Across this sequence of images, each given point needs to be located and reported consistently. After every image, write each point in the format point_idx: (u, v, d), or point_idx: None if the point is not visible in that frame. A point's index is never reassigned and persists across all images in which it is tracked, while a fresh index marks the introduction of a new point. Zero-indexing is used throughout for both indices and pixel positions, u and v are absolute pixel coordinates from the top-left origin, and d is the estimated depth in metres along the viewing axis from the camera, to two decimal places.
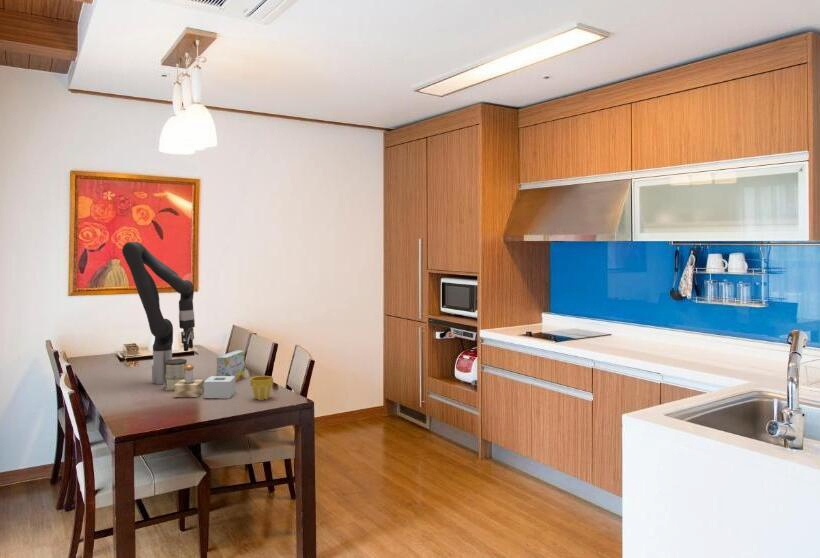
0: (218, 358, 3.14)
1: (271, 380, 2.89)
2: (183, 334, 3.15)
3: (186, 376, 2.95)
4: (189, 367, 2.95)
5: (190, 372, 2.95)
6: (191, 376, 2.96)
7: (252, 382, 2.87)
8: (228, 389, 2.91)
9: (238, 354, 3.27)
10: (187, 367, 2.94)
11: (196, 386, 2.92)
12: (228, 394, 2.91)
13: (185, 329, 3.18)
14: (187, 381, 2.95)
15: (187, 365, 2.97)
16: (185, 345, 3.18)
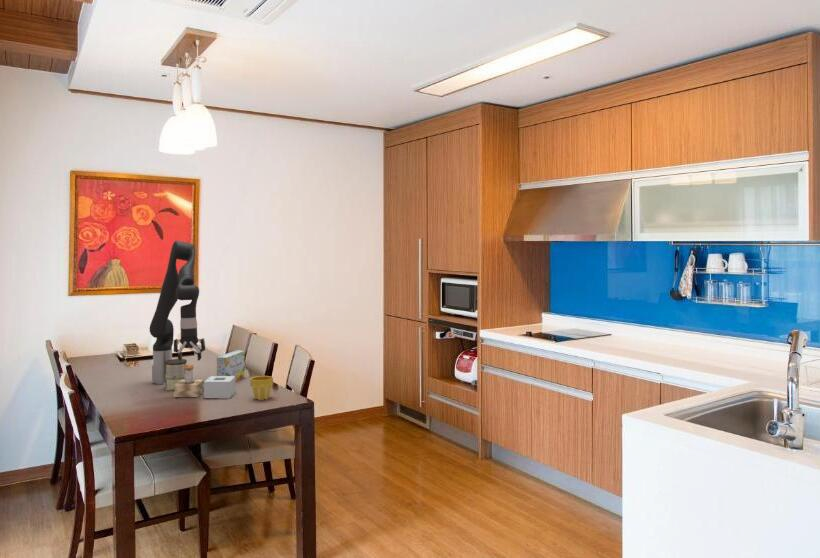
0: (218, 358, 3.14)
1: (271, 380, 2.89)
2: (203, 341, 2.97)
3: (186, 376, 2.95)
4: (189, 367, 2.95)
5: (190, 372, 2.95)
6: (191, 376, 2.96)
7: (252, 382, 2.87)
8: (228, 389, 2.91)
9: (238, 354, 3.27)
10: (187, 367, 2.94)
11: (196, 386, 2.92)
12: (228, 394, 2.91)
13: None
14: (187, 381, 2.95)
15: (187, 365, 2.97)
16: None
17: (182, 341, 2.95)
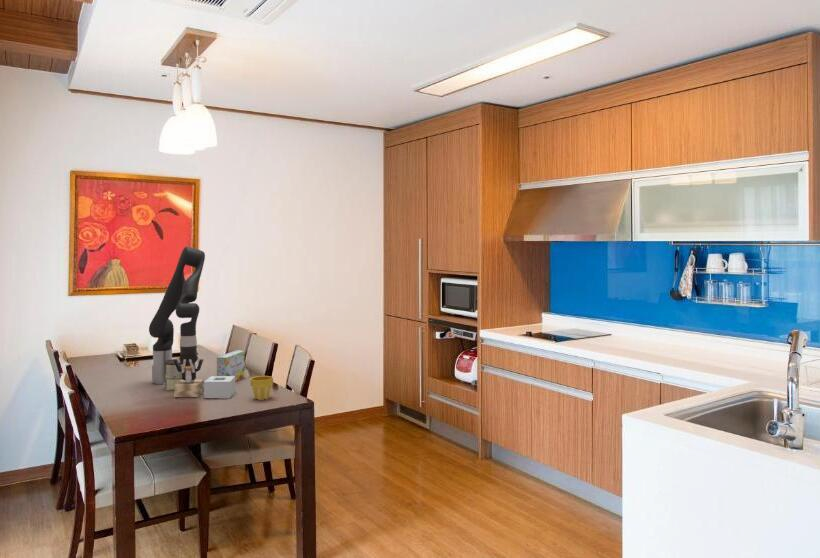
0: (218, 358, 3.14)
1: (271, 380, 2.89)
2: (202, 362, 2.97)
3: (186, 376, 2.95)
4: (189, 367, 2.95)
5: (190, 372, 2.95)
6: (191, 376, 2.96)
7: (252, 382, 2.87)
8: (228, 389, 2.91)
9: (238, 354, 3.27)
10: (187, 367, 2.94)
11: (196, 386, 2.92)
12: (228, 394, 2.91)
13: (196, 355, 2.97)
14: (187, 381, 2.95)
15: None
16: None
17: (181, 360, 2.95)
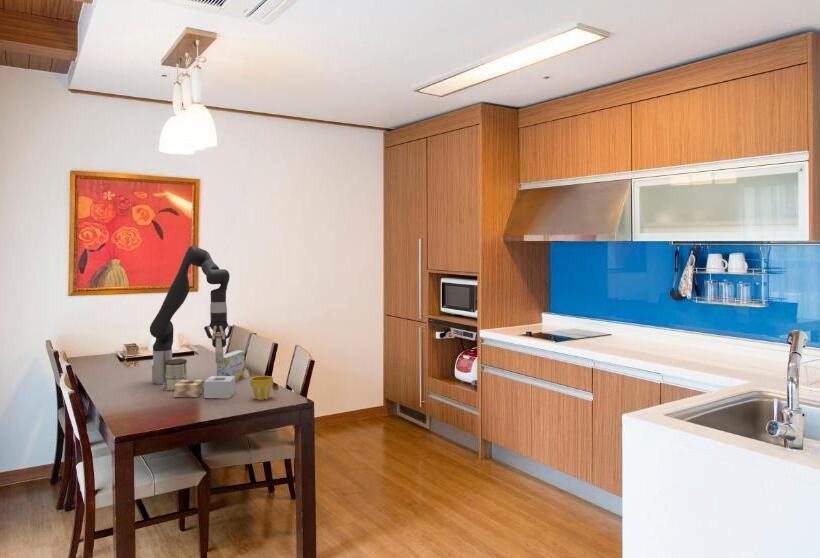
0: None
1: (271, 380, 2.89)
2: (232, 329, 2.95)
3: (216, 344, 2.93)
4: (219, 334, 2.93)
5: (220, 340, 2.94)
6: (221, 344, 2.94)
7: (252, 382, 2.87)
8: (228, 389, 2.91)
9: (238, 354, 3.27)
10: (217, 334, 2.93)
11: (196, 386, 2.92)
12: (228, 394, 2.91)
13: (226, 321, 2.95)
14: (217, 349, 2.93)
15: (217, 333, 2.95)
16: None
17: (212, 327, 2.93)
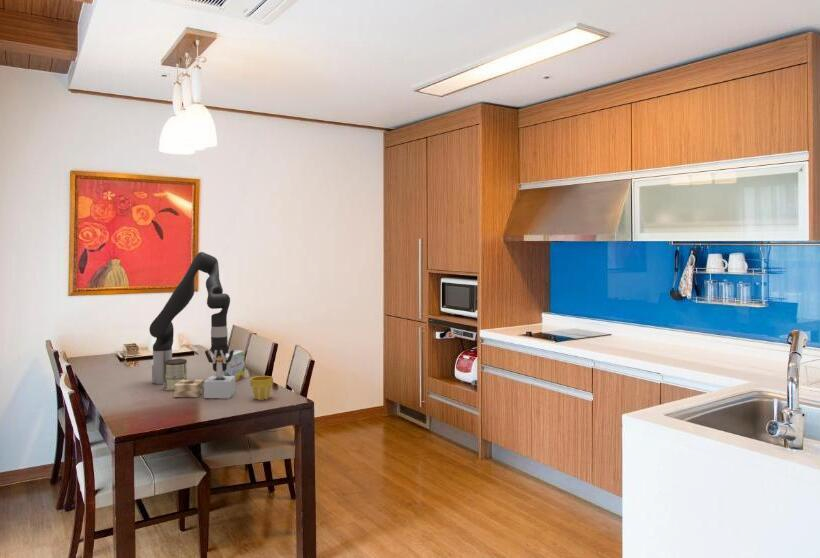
0: None
1: (271, 380, 2.89)
2: (232, 353, 2.96)
3: (217, 368, 2.94)
4: (220, 359, 2.94)
5: (221, 364, 2.94)
6: (222, 368, 2.95)
7: (252, 382, 2.87)
8: (228, 389, 2.91)
9: (238, 354, 3.27)
10: (218, 359, 2.93)
11: (196, 386, 2.92)
12: (228, 394, 2.91)
13: (227, 345, 2.95)
14: (218, 373, 2.94)
15: (218, 357, 2.96)
16: None
17: (212, 351, 2.94)
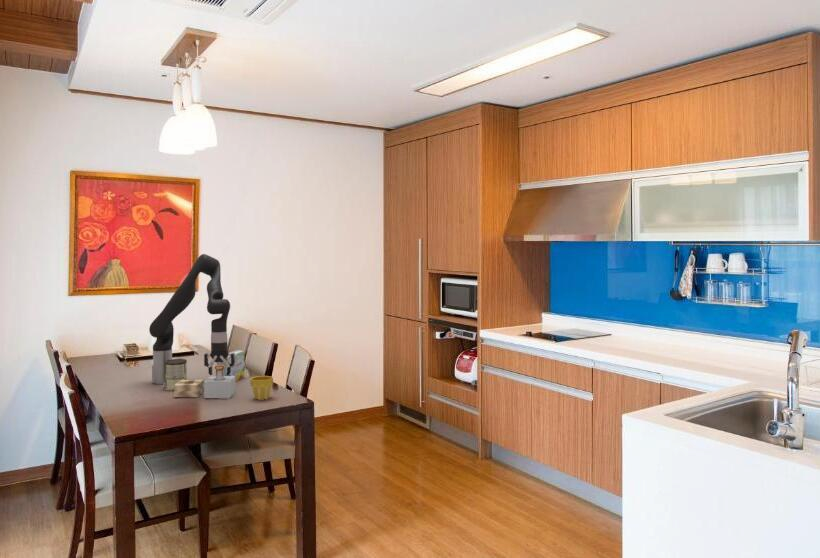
0: None
1: (271, 380, 2.89)
2: (234, 356, 2.96)
3: (217, 377, 2.94)
4: (220, 367, 2.94)
5: (221, 372, 2.94)
6: (222, 377, 2.95)
7: (252, 382, 2.87)
8: (228, 389, 2.91)
9: (238, 354, 3.27)
10: (218, 367, 2.94)
11: (196, 386, 2.92)
12: (228, 394, 2.91)
13: (227, 351, 2.96)
14: None
15: (218, 365, 2.96)
16: None
17: (212, 355, 2.94)
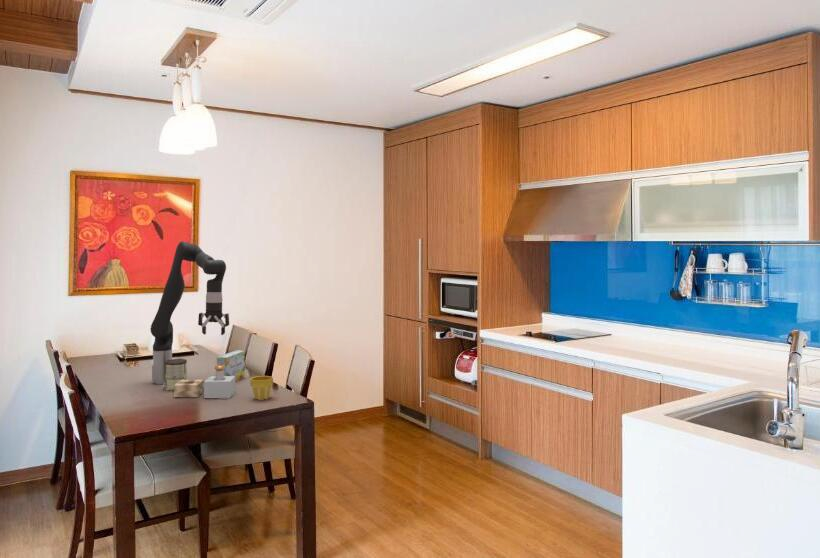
0: (218, 358, 3.14)
1: (271, 380, 2.89)
2: (228, 316, 2.98)
3: (217, 377, 2.94)
4: (220, 367, 2.94)
5: (221, 372, 2.94)
6: (222, 377, 2.95)
7: (252, 382, 2.87)
8: (228, 389, 2.91)
9: (238, 354, 3.27)
10: (218, 367, 2.94)
11: (196, 386, 2.92)
12: (228, 394, 2.91)
13: (221, 311, 2.98)
14: None
15: (218, 365, 2.96)
16: None
17: (207, 315, 2.97)
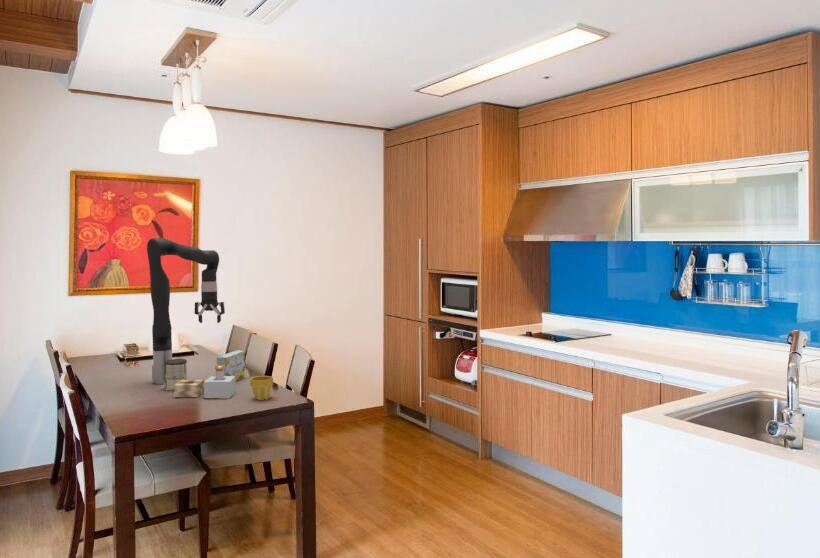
0: (218, 358, 3.14)
1: (271, 380, 2.89)
2: (223, 305, 3.09)
3: (217, 377, 2.94)
4: (220, 367, 2.94)
5: (221, 372, 2.94)
6: (222, 377, 2.95)
7: (252, 382, 2.87)
8: (228, 389, 2.91)
9: (238, 354, 3.27)
10: (218, 367, 2.94)
11: (196, 386, 2.92)
12: (228, 394, 2.91)
13: None
14: None
15: (218, 365, 2.96)
16: None
17: (203, 304, 3.07)
